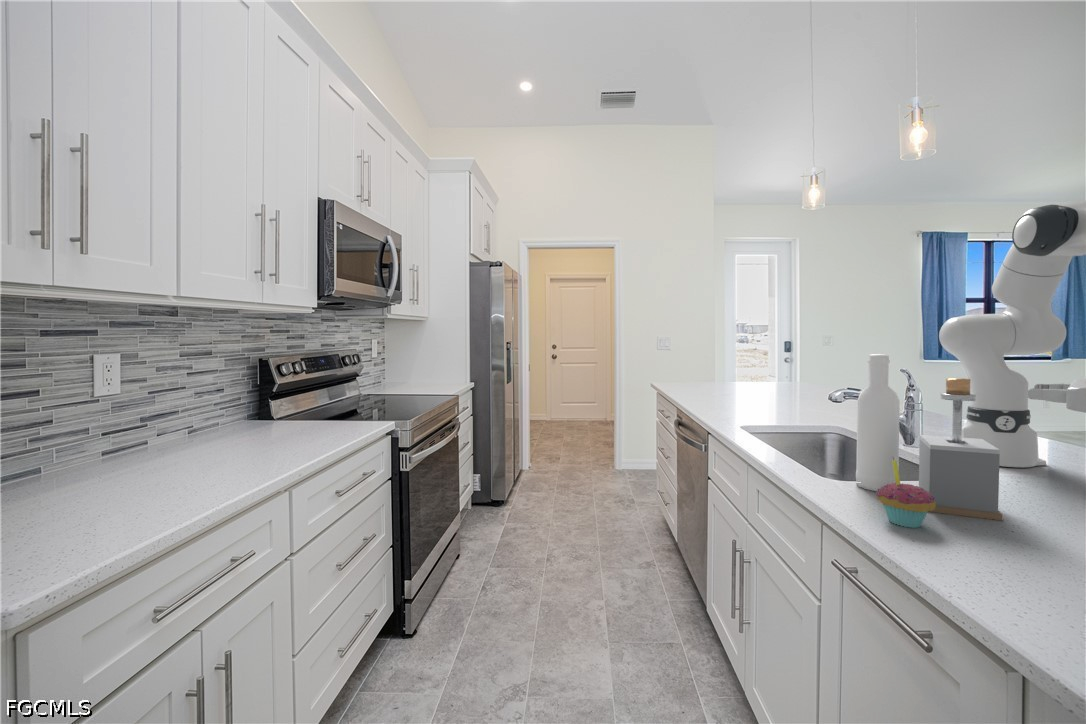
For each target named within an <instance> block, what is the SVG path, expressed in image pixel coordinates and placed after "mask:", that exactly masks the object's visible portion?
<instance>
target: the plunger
mask: <svg viewBox="0 0 1086 724" xmlns="http://www.w3.org/2000/svg"><path fill="white" fill-rule="evenodd" d="M970 381H971V379H969V378H965V377H964V378H962V377H961V378H960V377H949V378H948V377H947V378H946V377H945V392H941V393H940V399H941V400H947V401H952V424H951V425H952V429H951V432H952V434H951V437H952V443H960V444H961V443H962V427H963V402H970V401H975V400H976V395H975V394H970Z"/></svg>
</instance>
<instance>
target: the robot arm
mask: <svg viewBox="0 0 1086 724" xmlns="http://www.w3.org/2000/svg"><path fill="white" fill-rule="evenodd" d="M1011 239H1012V244H1011V246H1010V248H1009V249H1008V251H1007V253H1006V255H1005V257H1004V260H1002V263H1001V266H1000V268H999V269H998V272H997V275H996V277H995V279H994V281H993V282H992V285H991V294H992V295H993V297H994V299H996V300H997V301H998V302H999V303H1001V304H1003V305H1005V306H1006V307H1005V309H1004V311H1003V312H1000V313H978V314H977V313H974V314H967V315H960V316H956V317H951V318H949V319H947V320H946V321H945V322H944V323H943V325H941V327H940V330H939V333H938V338H939V339H938V340H939V343H940V344H941V346H942V348H943V349H944V350H945V351H947V352H948V353H949V354H951V355H953V357H955V358H956V359H957V360H958V361H959V362H960V363H961V364H962V366H963V368H964V369H965V371H966V373H967V374H966V375H967V377H968V378H967V379H971V381H970V394H975V395H976V400H975V401H969V406H967V409H966V413H965V414H966V416H965V418H966V419H967V420H966V421H965V422H964V424H962V438H974V439H983V440H985V441H986V442H988V443H990V444H991V445H993V446H994V447H996V448H998V449H999V450H1000V460H999V467H1004V468H1005V467H1008V468H1033V467H1036V466H1046V465H1047V461H1046V460H1045V459H1042V458H1039V442H1038V432H1037V431H1035V429H1032V428H1031V427H1030V423H1031V410H1029V409H1028V407H1029V400H1037V401H1046V402H1053V403H1060V404H1066V405H1065V406H1066V409H1067V410H1071V411H1074V412H1078V413H1085V414H1086V378H1075V379H1074V380H1073V381H1072V382H1071V383H1065V382H1064V383H1036V384H1035V385H1034V387H1033V388H1029V381H1028V380H1027V378H1026V377H1025V376H1024V375H1022V374H1021V373H1019V372H1017V371H1015V370H1013V369H1010V368H1009V367H1008V364H1007V363H1006V362H1005V356H1032V355H1039V354H1044V353H1045V354H1046V353H1050V352H1054V351H1056V350H1058V349H1059V348H1060V347H1061V346H1062V345H1063V344H1064V342H1065V340H1066V339H1067V338H1066V337H1067V327H1066V325H1065V323H1064V321H1062V320H1061V318H1060V317H1058V316H1056V315H1055V314H1054V312H1053V308H1052V304H1053V303H1052V302H1053V298H1054V295H1055V294H1056V292H1057V290H1058V286H1059V285H1060V283H1061V281H1062V279H1063V277H1064V276H1065V273H1066V272H1067V270H1068V267H1069V265H1070V263H1071V261H1072V259H1073V258H1074V257H1080V256H1086V201H1081V202H1080V201H1079V202H1071V203H1063V204H1047V205H1043V206H1042V205H1041V206H1038V207H1037V206H1036V207H1034V208H1031V209H1029V210H1027V211H1025V212H1024V213H1023V214H1021V216H1020V217H1019V218H1018V219H1017V221H1016V222H1015V224H1014V226H1013V229H1012V235H1011Z"/></svg>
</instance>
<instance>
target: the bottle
mask: <svg viewBox="0 0 1086 724" xmlns="http://www.w3.org/2000/svg"><path fill="white" fill-rule="evenodd" d="M867 363H868V385H867V386H866V387H864V388H863V389H862V390H861V391H860V393H859V395H858V397H857V401H856V466H855V467H856V471H855V480H856V481H855V484H856V485H857V486H858V487H859V488H862V489H864V490H868V491H872V492H878V489H881V486H882V487H883V486H884V485H887V484H892V483H893V484H894V483H896V480H895V475H894V469H893V463H892V461H893V457H894V460H895V461H897V467H898V473H899V469H900V468H899V467H900V465H899V463H900V457H899V456H900V413H901V411H900V410H901V409H900V405H901V403H900V399H899V397H898V394H897V392H896V391H895V390H894V389H893V388H891V387H890V386H889V363H890V358H889V354H883V353H877V354H876V353H875V354H873V353H870V354H869V355H868V360H867ZM892 456H893V457H892ZM899 474H900V473H899ZM856 482H861V483H856Z"/></svg>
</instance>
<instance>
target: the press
mask: <svg viewBox="0 0 1086 724" xmlns="http://www.w3.org/2000/svg"><path fill="white" fill-rule="evenodd" d="M918 448H919V452H918V454H919V455H918V456H919V457H918V459H919V460H918V461H919V462H918V487H919V488H923V489H924V490H926V491H927V492H928V493H929V492H930V494H931V495H932V496H933V497H934V500H935V503H936V507H935V509H934V510H933V511H928V513H929V512H930V513H936V514H937V513H938V514H944V515H945V514H947V515H955V516H961V517H969V516H970V517H971V518H976V519H977V518H978V519H985V518H986V519H987V520H992V519H995V520H994V521H1000V520H1001V521H1003V519H1004V515H1003V513H1002V512H1001V511H1000V510H999V494H1000V493H999V491H1000V487H999V486H1000V466H999V460H1000V450H999V449H998V448H996V447H994V446H993V445H991V444H990V443H988V442H986V441H985V440H983V439H974V438H962V443H961V444H960V443H952V436H939V435H925V434H923V435H922V434H919V447H918ZM986 519H985V520H986Z"/></svg>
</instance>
